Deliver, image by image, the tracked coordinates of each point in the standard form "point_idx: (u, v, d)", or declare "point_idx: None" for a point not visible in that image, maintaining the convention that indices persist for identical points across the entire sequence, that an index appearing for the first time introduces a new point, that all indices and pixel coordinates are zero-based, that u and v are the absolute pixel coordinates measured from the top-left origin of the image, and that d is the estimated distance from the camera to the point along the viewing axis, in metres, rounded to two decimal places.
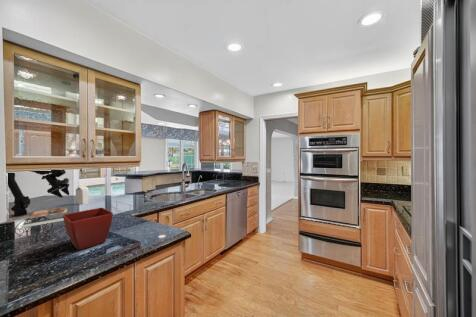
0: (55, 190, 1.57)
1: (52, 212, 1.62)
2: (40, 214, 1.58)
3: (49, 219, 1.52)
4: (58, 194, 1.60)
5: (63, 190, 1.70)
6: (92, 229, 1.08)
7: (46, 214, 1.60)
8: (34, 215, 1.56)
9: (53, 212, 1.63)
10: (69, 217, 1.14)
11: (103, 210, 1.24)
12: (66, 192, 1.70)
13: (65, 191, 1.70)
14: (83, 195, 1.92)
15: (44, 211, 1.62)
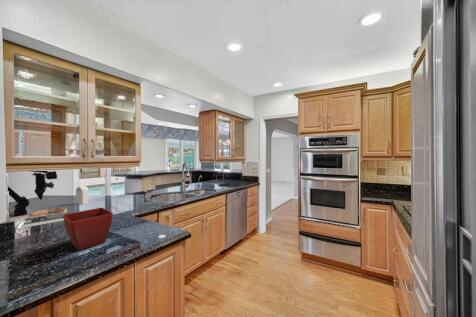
0: (42, 191, 1.65)
1: (52, 212, 1.62)
2: (40, 214, 1.58)
3: (49, 219, 1.52)
4: (40, 195, 1.66)
5: None
6: (92, 229, 1.08)
7: (46, 214, 1.60)
8: (34, 215, 1.56)
9: (53, 212, 1.63)
10: (69, 217, 1.14)
11: (103, 210, 1.24)
12: None
13: None
14: (83, 195, 1.92)
15: (44, 211, 1.62)
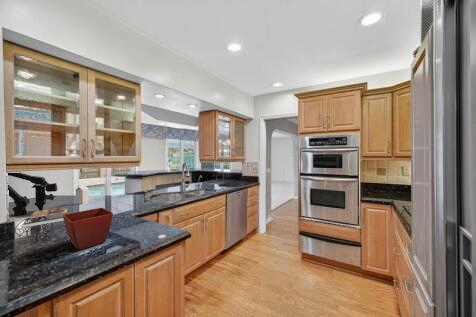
0: (43, 203, 1.64)
1: (52, 212, 1.62)
2: (40, 214, 1.58)
3: (49, 219, 1.52)
4: (40, 207, 1.65)
5: (38, 204, 1.65)
6: (92, 229, 1.08)
7: (46, 214, 1.60)
8: (34, 215, 1.55)
9: (53, 212, 1.63)
10: (69, 217, 1.14)
11: (103, 210, 1.24)
12: None
13: None
14: (83, 195, 1.92)
15: (44, 211, 1.62)
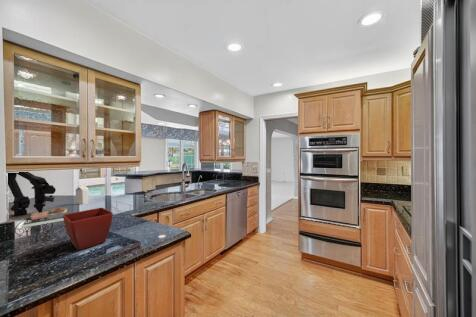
0: (42, 205, 1.58)
1: (52, 212, 1.62)
2: (39, 217, 1.51)
3: (49, 219, 1.52)
4: (40, 209, 1.58)
5: (38, 207, 1.59)
6: (92, 229, 1.08)
7: (45, 217, 1.54)
8: (33, 218, 1.49)
9: (53, 212, 1.63)
10: (69, 217, 1.14)
11: (103, 210, 1.24)
12: None
13: None
14: (83, 195, 1.92)
15: (43, 214, 1.56)
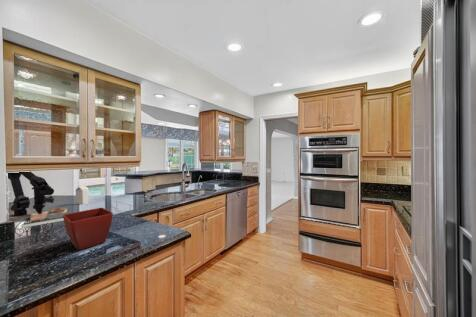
0: None
1: (52, 212, 1.62)
2: None
3: (49, 219, 1.52)
4: (39, 211, 1.55)
5: (37, 208, 1.56)
6: (92, 229, 1.08)
7: None
8: None
9: (53, 212, 1.63)
10: (69, 217, 1.14)
11: (103, 210, 1.24)
12: None
13: None
14: (83, 195, 1.92)
15: (42, 216, 1.53)
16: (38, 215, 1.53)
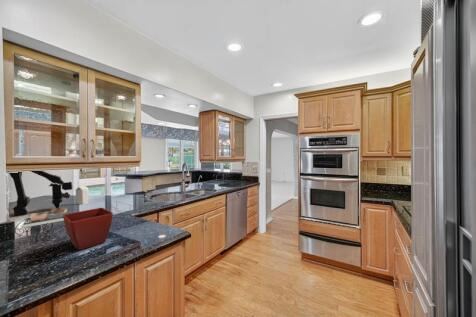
0: (59, 201, 1.70)
1: (52, 212, 1.62)
2: None
3: (49, 219, 1.52)
4: (57, 205, 1.71)
5: (55, 202, 1.71)
6: (92, 229, 1.08)
7: (44, 220, 1.50)
8: None
9: (53, 212, 1.62)
10: (69, 217, 1.14)
11: (103, 210, 1.24)
12: None
13: None
14: (83, 195, 1.92)
15: (42, 216, 1.53)
16: (38, 216, 1.53)
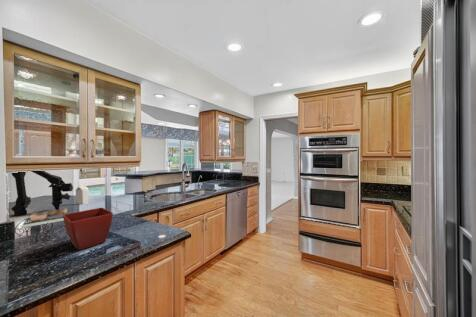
0: None
1: (52, 214, 1.57)
2: None
3: (49, 219, 1.52)
4: (57, 207, 1.66)
5: (55, 204, 1.66)
6: (92, 229, 1.08)
7: (44, 220, 1.50)
8: None
9: (53, 214, 1.57)
10: (69, 217, 1.14)
11: (103, 210, 1.24)
12: None
13: None
14: (83, 195, 1.92)
15: (42, 216, 1.53)
16: (38, 216, 1.53)
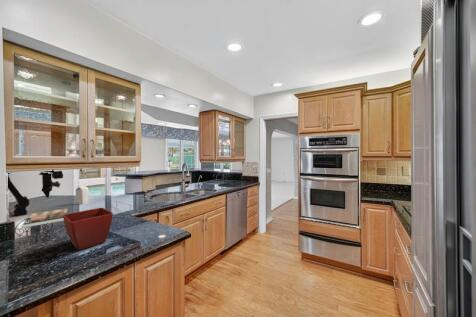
0: None
1: (50, 217, 1.53)
2: None
3: None
4: (47, 194, 1.72)
5: None
6: (92, 229, 1.08)
7: (44, 220, 1.50)
8: None
9: (51, 217, 1.53)
10: (69, 217, 1.14)
11: (103, 210, 1.24)
12: None
13: None
14: (83, 195, 1.92)
15: (42, 216, 1.53)
16: (38, 216, 1.53)
